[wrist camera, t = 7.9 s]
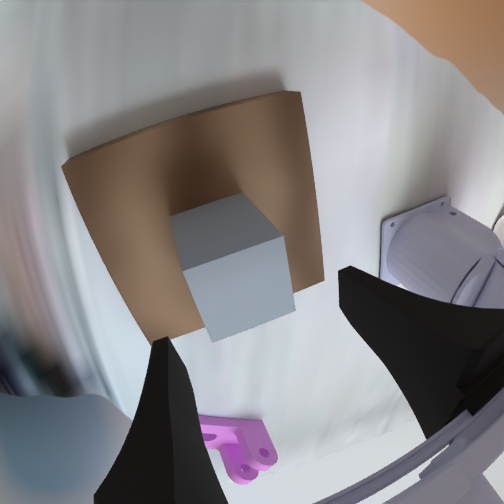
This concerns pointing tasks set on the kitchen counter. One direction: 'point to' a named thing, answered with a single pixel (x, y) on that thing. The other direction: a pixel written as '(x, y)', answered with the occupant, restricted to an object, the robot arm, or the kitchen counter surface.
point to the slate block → (233, 265)
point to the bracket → (239, 446)
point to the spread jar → (500, 230)
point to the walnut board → (196, 198)
